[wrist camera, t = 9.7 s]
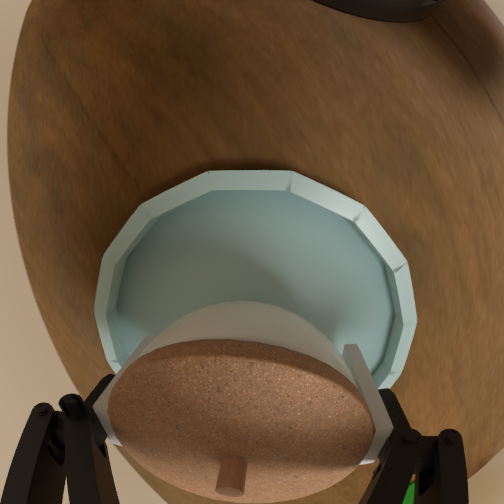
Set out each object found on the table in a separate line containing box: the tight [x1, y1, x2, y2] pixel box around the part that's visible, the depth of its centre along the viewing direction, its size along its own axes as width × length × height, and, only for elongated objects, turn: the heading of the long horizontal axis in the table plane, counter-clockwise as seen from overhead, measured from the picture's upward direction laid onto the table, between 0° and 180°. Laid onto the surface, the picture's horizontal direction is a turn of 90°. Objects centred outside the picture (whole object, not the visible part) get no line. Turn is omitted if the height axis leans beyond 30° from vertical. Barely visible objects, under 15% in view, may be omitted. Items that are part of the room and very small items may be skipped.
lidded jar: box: [108, 301, 373, 503], centre depth 11 cm, size 11×11×9 cm
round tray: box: [94, 170, 417, 389], centre depth 17 cm, size 21×21×2 cm
